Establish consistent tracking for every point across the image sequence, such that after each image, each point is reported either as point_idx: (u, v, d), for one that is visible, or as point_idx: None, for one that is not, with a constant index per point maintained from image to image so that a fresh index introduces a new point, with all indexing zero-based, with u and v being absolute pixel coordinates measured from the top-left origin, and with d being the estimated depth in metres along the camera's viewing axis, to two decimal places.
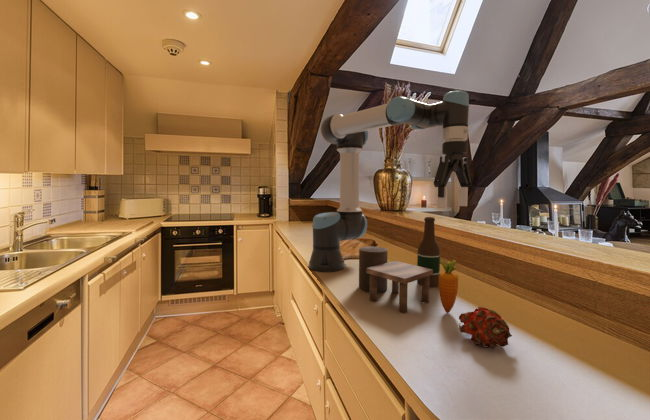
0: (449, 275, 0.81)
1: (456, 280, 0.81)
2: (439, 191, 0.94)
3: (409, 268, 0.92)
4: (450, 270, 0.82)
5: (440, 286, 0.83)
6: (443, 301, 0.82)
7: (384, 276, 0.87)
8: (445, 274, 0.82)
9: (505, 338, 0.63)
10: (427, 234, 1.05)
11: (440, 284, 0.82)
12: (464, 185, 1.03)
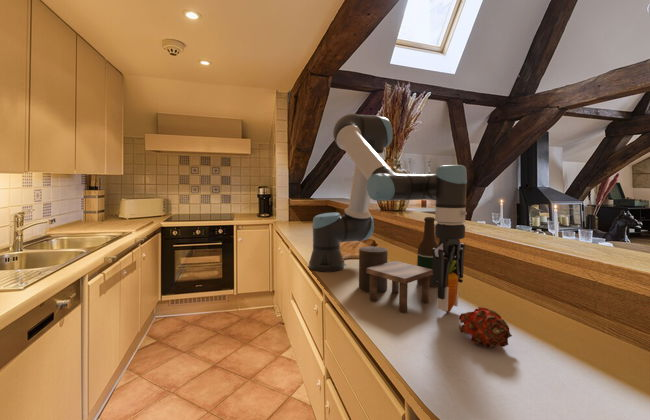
0: (449, 275, 0.81)
1: (456, 280, 0.81)
2: (439, 291, 0.80)
3: (409, 268, 0.92)
4: (450, 270, 0.82)
5: None
6: None
7: (384, 276, 0.87)
8: None
9: (505, 338, 0.63)
10: (427, 234, 1.05)
11: None
12: None
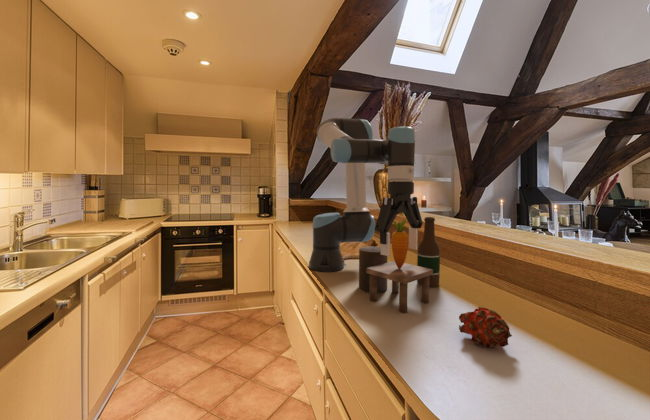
0: (399, 233, 0.89)
1: (406, 237, 0.89)
2: (381, 237, 0.85)
3: (409, 268, 0.92)
4: (401, 229, 0.90)
5: (392, 244, 0.91)
6: (395, 257, 0.90)
7: (384, 276, 0.87)
8: (396, 232, 0.90)
9: (505, 338, 0.63)
10: (427, 234, 1.05)
11: (392, 242, 0.91)
12: (414, 226, 0.95)
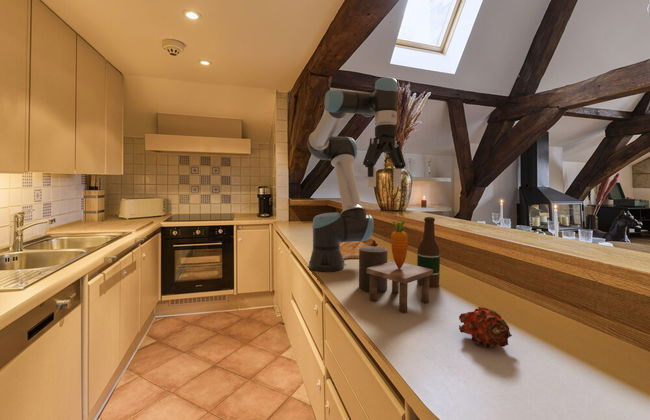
0: (399, 233, 0.89)
1: (405, 237, 0.89)
2: (368, 171, 1.01)
3: (409, 268, 0.92)
4: (400, 229, 0.90)
5: (392, 244, 0.91)
6: (394, 257, 0.90)
7: (384, 276, 0.87)
8: (395, 232, 0.90)
9: (505, 338, 0.63)
10: (427, 234, 1.05)
11: (392, 242, 0.91)
12: (398, 167, 1.10)
